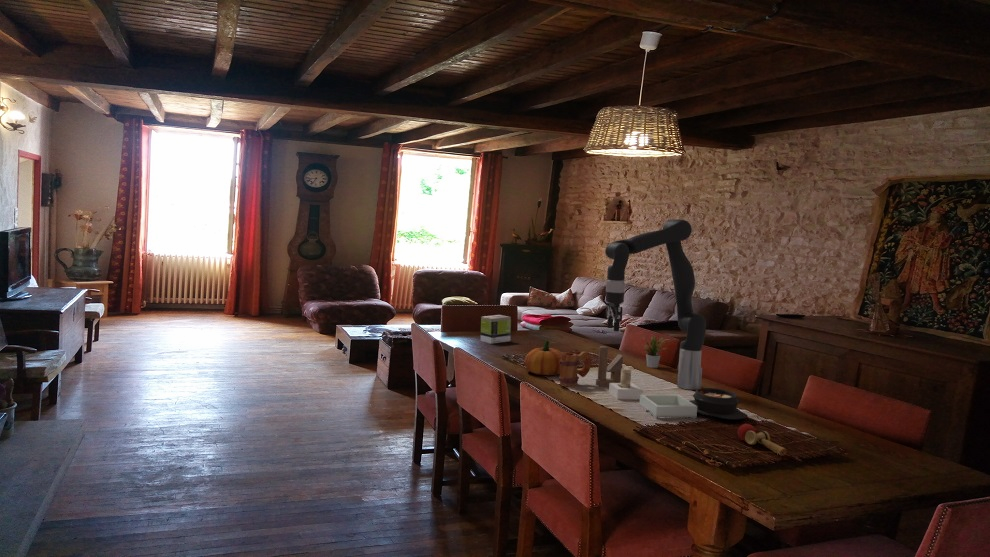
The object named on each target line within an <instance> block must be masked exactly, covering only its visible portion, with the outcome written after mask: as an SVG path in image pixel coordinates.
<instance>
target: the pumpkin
mask: <svg viewBox="0 0 990 557" xmlns="http://www.w3.org/2000/svg"><path fill="white" fill-rule="evenodd" d="M549 344H550V341H549V340H545V342H544V345H543V347H536V348H533V349H532V350H530V351H529V352H528V353H527V354H526V356H525V359H524V366H525V369H526V370H527V371H528V372H530V373H532V374H535V375H538V376H546V375H547V376H548V375H549V376H556V375H560V373H561V364H560V363H559V362H560V360H561V359H562V354H563V353H562V352H561V351H560V350H559V349H555V348H552V347H550V345H549Z"/></svg>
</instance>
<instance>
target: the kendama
mask: <svg viewBox="0 0 990 557" xmlns="http://www.w3.org/2000/svg"><path fill="white" fill-rule="evenodd" d="M737 436H738V438H739V440H741V441H742V440H744V441H746V442H745V443H747V444H748V445H752V446H753V445H756V444H757V443H758V444H759V443H760V444H763V445H765V446H764V447H766V448H767V449H769V450H771V452H773V453H775V454H776V453H777V455H778V454H779V455H784V454H785V456H786V455H787V453H788V451H787V450H788V449H787V448H786V447H783V446H781V445H778V444H777V443H774V442H772V441H771V435H770V434H769V432H768V431H765V430H760V431H758V432H757V429H756V428H755V426H753V425H752V424H749V423H744V424H741V425H740V426H739V427H738V429H737ZM744 441H743V442H744ZM760 444H759V445H760ZM779 455H778V456H779Z"/></svg>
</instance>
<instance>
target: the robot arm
mask: <svg viewBox="0 0 990 557" xmlns="http://www.w3.org/2000/svg"><path fill="white" fill-rule="evenodd" d="M692 228H693V227H692V225H691V223H690V222H689V221H687V220H686V219H673V218H672V219H668V220H666V221H665V222H664V223H663V226H662V229H659V230H658V229H657V230H655V231H649V232H644V233H640V234H637V235H635V236H631V237H629V238H626V239H619V240H615V241H613V242H610V243H609V244H607V245H606V247H605V249H604V250H605V251H604V253H605V255H606V257H607V258H608V259H610V260H613V262H612V264H611V265H609V266H608V268H607V275H606V276H607V277H606V279H607V280H606V284H605V299H604V300H605V302H606V306H605V317H606V318H607V324H606V326H607V327H606V328H608V329H612V328H613V331H614V332H619V331H620V325H621V322H623V306H620V304H623V303H624V302H625V288H626V286H625V276H626V274H625V273H626V272H625V271H626V269H627V265H628V261H629V258H630V255H635V254H638V253H641V252H645V251H647V250H650V249H653V248H655V247H658V246H662V245H665V246H666V250H667V254H668V260H669V264H670V268H671V269H670V270H671V277H672V282H673V283H672V284H673V288H674V294H675V295H674V296H675V301H676V312H677V316H676V317H677V325H678V328H679V329H680V330H681V331H682V332H683V333H686V338H685V340H682V341H680V343H679V356H678V371H677V380H676V381H677V385H676V386H677V387H678V388H680V389H684V390H692V391H693V390H694V391H696V390H697V389H701V388H702V378H703V377H702V376H703V375H702V374H703V367H702V366H701V365H702V363H701V362H702V350H703V346H704V344H705V338H706V337H705V336H706V331H707V330H706V329H707V323H706V322H707V321H706V319H705V317H704V316H703V315H701V314H699V313H695V312H694V309H693V305H692V297H693V294H694V291H695V286H696V279H695V278H696V277H695V272H694V271H695V270H694V268H693V265H692V263H691V262H690V260H689V258H688V257H687V255H686V254H685V252H684V249H683V246H682V241H683V242H684V241H686V240H688V238H690V236H691V235H692V232H693V229H692Z"/></svg>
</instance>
